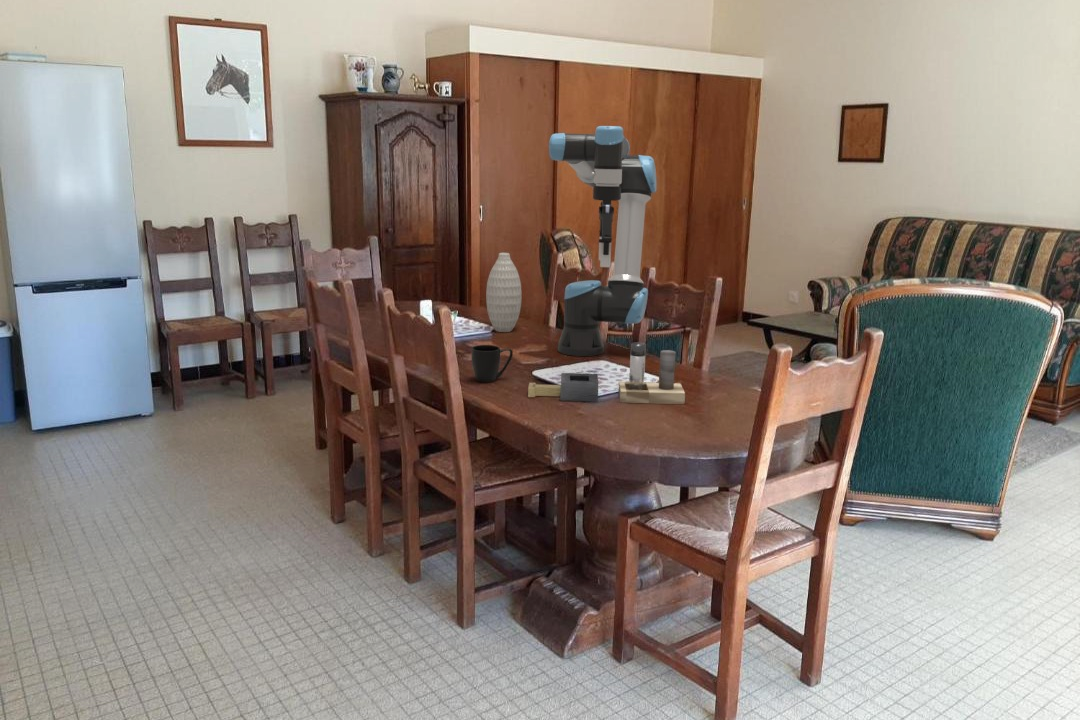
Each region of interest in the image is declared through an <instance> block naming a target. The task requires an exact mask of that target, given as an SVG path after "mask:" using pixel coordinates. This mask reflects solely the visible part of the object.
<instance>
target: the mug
mask: <svg viewBox="0 0 1080 720" xmlns="http://www.w3.org/2000/svg"><path fill="white" fill-rule="evenodd" d="M503 352H509V357H508V358H507V361H506V362H505V364H504V366H503V367H502V369H501V370H500V371H499V368H500V363H501V353H503ZM513 354H514V351H513V348H503V349H501V348H500V346H498V345H494V344H493V345H491V344H479V345H475V346H472V347H471V364H472V369H473V373H474V376H475V381H477V382H479V383H485V384H486V383H494V382H495V381H496V379H498V378H500V377H501V376H502V374H503V373H504V372H505V371H506V369H507V367H508V365H509V364H510V362H511V360H512V358H513Z"/></svg>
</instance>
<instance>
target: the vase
mask: <svg viewBox="0 0 1080 720" xmlns="http://www.w3.org/2000/svg"><path fill="white" fill-rule="evenodd" d="M485 293H486V294H485V295H486V296H485V297H486V309H487V314H488V318H489V320H490V323H491V325H492V328H493V329H494V330H495V331H496V332H498V333H509V332H510V333H511V332H512V331H513V329H514V328H515V326H516V324H517V322H518V320H519V316H520V313H521V307H522V282H521V277H520V275H519V271H518V269H517V267H516V265H515V264H514V262H513V261H512V258H511V255H510V253H509V252H499V253H498V257H497V259H496V260H495V263H494V265H493V266H492V268H491V270H490V272H489V275H488V278H487V282H486V292H485Z"/></svg>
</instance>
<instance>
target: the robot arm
mask: <svg viewBox="0 0 1080 720" xmlns="http://www.w3.org/2000/svg"><path fill="white" fill-rule="evenodd" d="M630 150H631V147H630V142H629V140H628V139H627V138H626V137H625V136H624V128H623V127H622V126H619V125H618V126H616V125H613V126H612V125H599V126H597V127H596V129H595V133H568V132H567V133H565V132H562V133H553V134H552V135H551V136H550V139H549V142H548V152H549V153H548V154H549V157H550V159H551V160H552V161H558V162H566V163H567V164H568V165H569V167H571V168H572V169H573V170H574V171H575V174H576V176H577V178H578V179H579V180H580V181H581V182H583V183H584V184H586V185H587V186H589V187H592V199H593V200H595V201H601V202H600V206H598V214H599V215H598V216H599V221H600V222H599V230H598V232H599V237H598V261H600V262H599V267H600V268H611V259H612V258H611V257H612V240H613V237H612V234H613V233H612V232H613V231H612V228H613V227H612V226H613V225H612V224H613V220H614V213H615V207H614V206H613V204H612V201H618V211H617V225H616V234H615V235H616V236H615V237H616V238H615V249H614V260H613V274H612V276H611V277H610V278H608V279H607V285H602V282H601V281H600V280H596V279H595V280H594V279H592V280H579V281H574V282H571V283H568V284H567V285H566V287H565V290H564V298H563V300H564V307H563V309H564V311H563V312H564V313H563V314H564V315H563V316H564V318H563V322H564V323H563V329H562V331H561V334H560V338H559V340H558V344H557V351H558V352H559V353H560V354H563V355H565V356H566V355H568V356H573V357H574V356H575V357H593V356H599V355H602V354H603V353H604V350H605V347H604V346H605V345H604V342H603V338H602V334H601V331H600V322H603V323H617V324H625V325H628V324H634V325H635V324H639V323H641V321H643V318H644V316H645V312H646V309H647V304H648V298H649V297H648V296H649V290H648V288H646V287H644V286H645V281H643V280H642V278H641V264H642V254H643V240H644V227H645V215H646V204H647V203H648V202H649V201H650V200H651V199H652V194H655V193H656V192H657V186H658V185H657V170H656V163H655V160H654V158H653V157H652V156H649V155H641V154H629V153H630Z"/></svg>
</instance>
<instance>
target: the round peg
mask: <svg viewBox="0 0 1080 720" xmlns="http://www.w3.org/2000/svg"><path fill="white" fill-rule="evenodd" d="M646 348H647V344H646V343H645V342H639V341H637V342H636V341H635V342H634V341H633V342H630V352H629V353H630V355H629V356H630V357H629V358H630V360H629V374H628V377H629V378H628V382H629V390H644V382H645V367H646V351H647V350H646Z"/></svg>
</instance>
